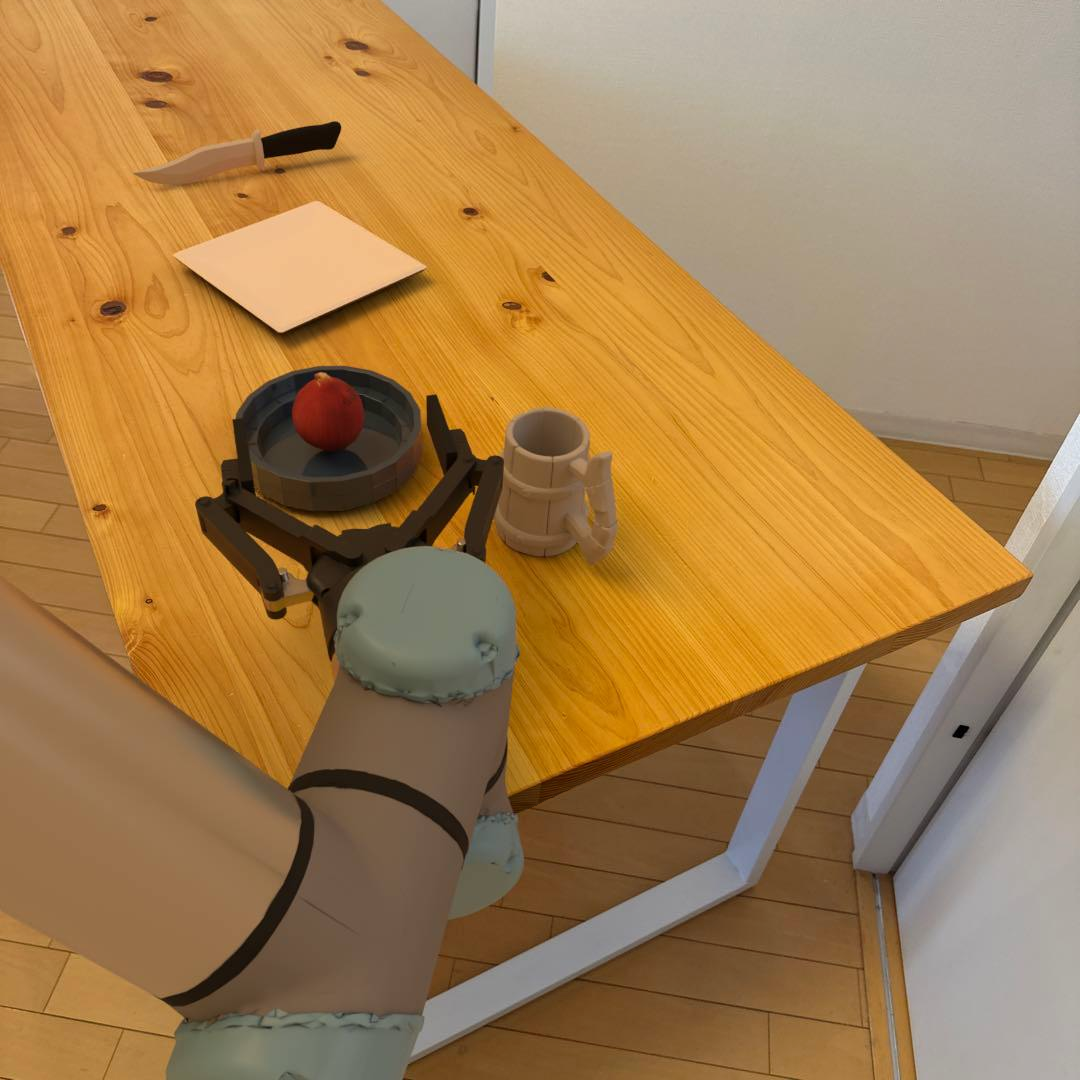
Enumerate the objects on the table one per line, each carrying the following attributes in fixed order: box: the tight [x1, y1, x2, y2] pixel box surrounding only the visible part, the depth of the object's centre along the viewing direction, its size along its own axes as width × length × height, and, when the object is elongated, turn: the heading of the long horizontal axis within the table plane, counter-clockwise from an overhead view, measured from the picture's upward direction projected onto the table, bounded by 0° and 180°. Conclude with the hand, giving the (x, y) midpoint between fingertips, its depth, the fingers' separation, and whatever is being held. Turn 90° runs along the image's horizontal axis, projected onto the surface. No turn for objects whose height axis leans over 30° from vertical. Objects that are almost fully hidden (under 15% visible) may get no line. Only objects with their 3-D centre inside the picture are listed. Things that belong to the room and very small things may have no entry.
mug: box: [493, 406, 619, 566], centre depth 77 cm, size 8×12×12 cm, turn 40°
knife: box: [132, 120, 342, 186], centre depth 119 cm, size 25×2×5 cm, turn 118°
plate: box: [172, 200, 427, 335], centre depth 105 cm, size 19×19×2 cm
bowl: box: [233, 365, 423, 512], centre depth 85 cm, size 15×15×4 cm
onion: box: [292, 372, 365, 452], centre depth 83 cm, size 6×6×8 cm
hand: (338, 420), depth 72 cm, fingers open, 13 cm apart
